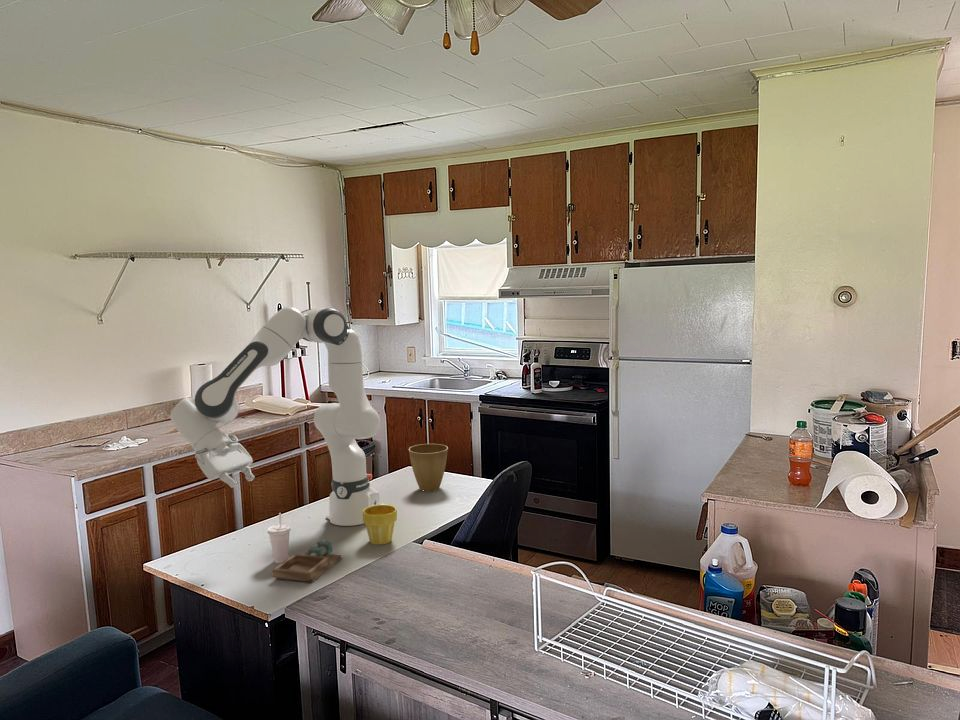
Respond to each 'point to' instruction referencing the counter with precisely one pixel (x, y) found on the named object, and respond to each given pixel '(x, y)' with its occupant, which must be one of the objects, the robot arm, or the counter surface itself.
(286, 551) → the smoothie
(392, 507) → the plant pot
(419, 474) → the plant pot
